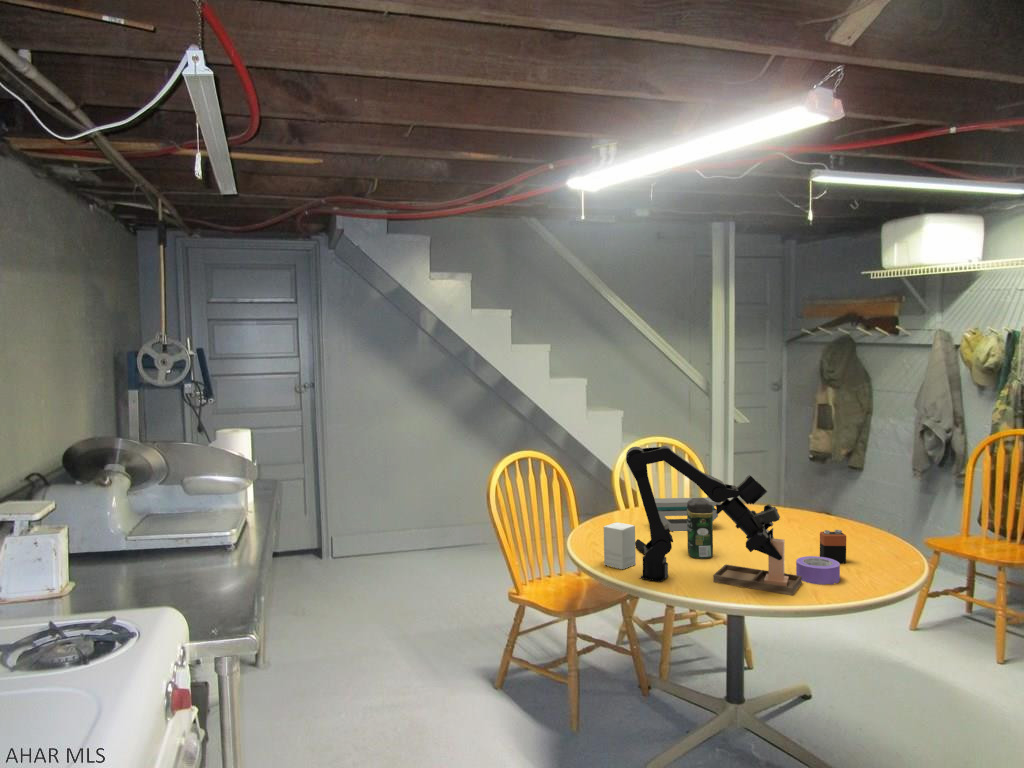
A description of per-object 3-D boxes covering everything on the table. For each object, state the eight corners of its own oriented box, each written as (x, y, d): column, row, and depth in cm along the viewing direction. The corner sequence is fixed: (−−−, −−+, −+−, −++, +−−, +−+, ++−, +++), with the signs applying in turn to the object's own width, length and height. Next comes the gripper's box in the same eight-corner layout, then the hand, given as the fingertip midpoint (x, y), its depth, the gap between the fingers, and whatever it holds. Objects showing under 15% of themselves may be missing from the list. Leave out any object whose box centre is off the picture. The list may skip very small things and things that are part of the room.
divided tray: (713, 581, 208) (713, 575, 208) (725, 570, 218) (725, 564, 217) (792, 595, 195) (792, 588, 195) (801, 582, 205) (801, 576, 205)
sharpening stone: (714, 525, 272) (714, 497, 271) (721, 530, 264) (720, 501, 264) (649, 526, 272) (649, 498, 271) (653, 532, 264) (653, 503, 263)
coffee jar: (685, 550, 239) (685, 496, 238) (709, 551, 239) (709, 496, 238) (689, 559, 230) (689, 502, 229) (715, 559, 229) (714, 502, 228)
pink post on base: (764, 583, 202) (764, 541, 202) (766, 577, 208) (766, 536, 207) (786, 586, 200) (786, 543, 199) (788, 579, 205) (788, 538, 204)
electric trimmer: (643, 547, 246) (643, 538, 246) (659, 560, 231) (659, 550, 230) (632, 548, 245) (632, 539, 245) (648, 560, 230) (648, 551, 230)
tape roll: (804, 585, 204) (804, 567, 204) (790, 572, 216) (790, 555, 216) (846, 585, 204) (846, 567, 203) (830, 572, 215) (830, 555, 215)
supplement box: (636, 564, 225) (636, 525, 224) (622, 570, 220) (622, 529, 219) (617, 560, 230) (617, 521, 230) (603, 565, 225) (602, 525, 224)
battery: (846, 563, 223) (846, 532, 222) (824, 563, 223) (824, 532, 223) (841, 559, 227) (841, 528, 226) (819, 559, 227) (819, 528, 227)
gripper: (758, 504, 196) (801, 548, 191) (765, 491, 212) (805, 531, 208) (728, 529, 199) (770, 573, 195) (738, 515, 216) (776, 555, 212)
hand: (781, 557), depth 203 cm, fingers open, 3 cm apart
